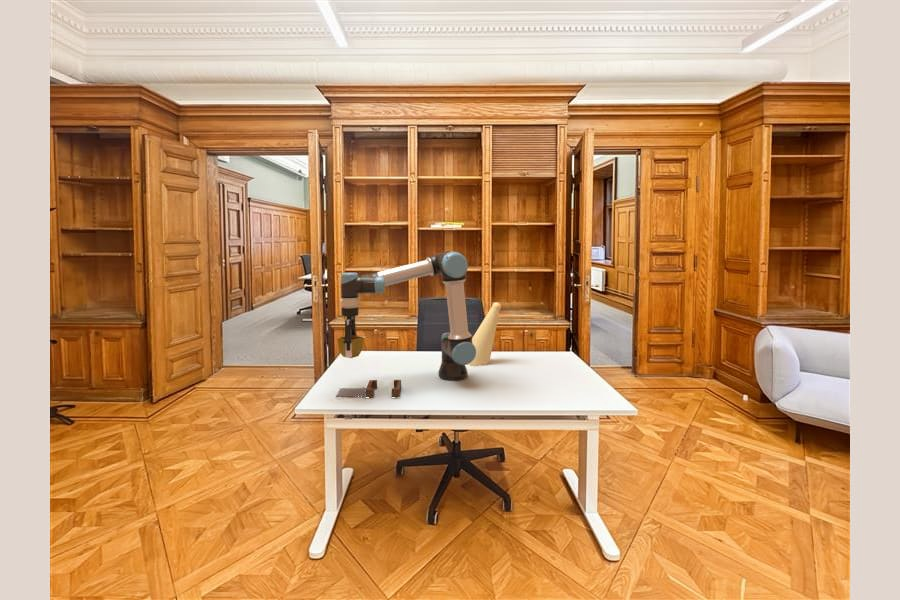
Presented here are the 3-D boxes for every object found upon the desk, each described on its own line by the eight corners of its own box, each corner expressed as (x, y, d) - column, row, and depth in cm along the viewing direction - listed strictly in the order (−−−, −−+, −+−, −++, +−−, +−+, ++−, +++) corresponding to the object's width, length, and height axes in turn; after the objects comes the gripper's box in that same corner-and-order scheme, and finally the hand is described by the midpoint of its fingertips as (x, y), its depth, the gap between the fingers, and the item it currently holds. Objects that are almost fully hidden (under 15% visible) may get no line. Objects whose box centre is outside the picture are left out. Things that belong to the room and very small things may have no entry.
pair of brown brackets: (401, 387, 238) (401, 379, 238) (399, 397, 224) (399, 389, 223) (369, 388, 238) (369, 380, 237) (365, 398, 223) (365, 389, 222)
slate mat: (366, 389, 236) (366, 388, 236) (362, 397, 224) (362, 396, 224) (340, 389, 236) (340, 388, 236) (335, 397, 224) (335, 396, 224)
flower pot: (364, 356, 229) (364, 336, 228) (351, 360, 222) (351, 340, 221) (350, 353, 234) (349, 334, 233) (337, 357, 226) (336, 338, 225)
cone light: (454, 365, 281) (455, 303, 276) (460, 357, 298) (460, 299, 294) (498, 367, 276) (499, 304, 272) (501, 359, 294) (502, 300, 289)
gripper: (345, 303, 237) (346, 348, 239) (336, 310, 213) (337, 360, 216) (361, 303, 237) (362, 348, 240) (354, 310, 213) (355, 360, 216)
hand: (350, 354), depth 228 cm, fingers closed on flower pot, 11 cm apart
